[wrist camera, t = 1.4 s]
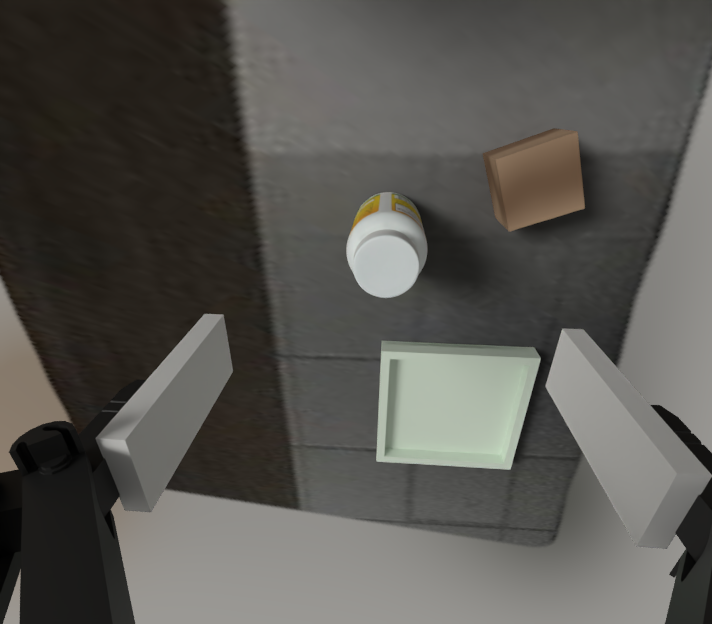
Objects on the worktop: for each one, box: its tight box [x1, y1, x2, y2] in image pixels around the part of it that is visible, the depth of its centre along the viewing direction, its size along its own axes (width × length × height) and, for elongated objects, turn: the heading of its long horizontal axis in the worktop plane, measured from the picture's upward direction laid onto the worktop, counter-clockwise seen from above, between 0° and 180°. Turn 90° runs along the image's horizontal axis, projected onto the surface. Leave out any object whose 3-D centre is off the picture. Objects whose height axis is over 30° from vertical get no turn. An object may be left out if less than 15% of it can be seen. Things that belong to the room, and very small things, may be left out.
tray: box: [376, 341, 541, 470], centre depth 39 cm, size 14×14×2 cm
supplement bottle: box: [346, 192, 427, 298], centre depth 27 cm, size 5×5×10 cm
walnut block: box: [483, 129, 585, 231], centre depth 28 cm, size 5×5×4 cm
